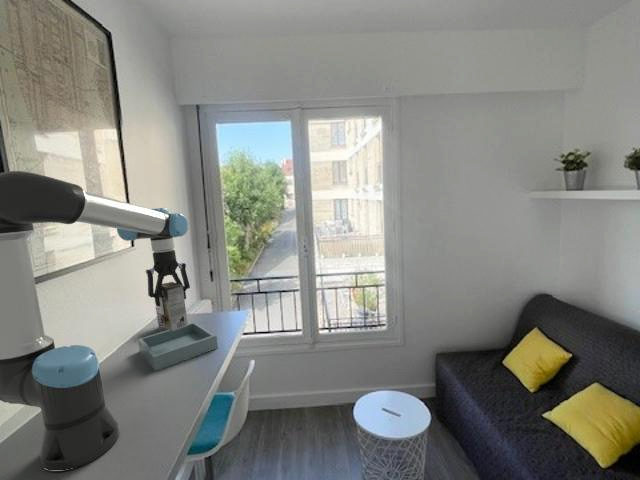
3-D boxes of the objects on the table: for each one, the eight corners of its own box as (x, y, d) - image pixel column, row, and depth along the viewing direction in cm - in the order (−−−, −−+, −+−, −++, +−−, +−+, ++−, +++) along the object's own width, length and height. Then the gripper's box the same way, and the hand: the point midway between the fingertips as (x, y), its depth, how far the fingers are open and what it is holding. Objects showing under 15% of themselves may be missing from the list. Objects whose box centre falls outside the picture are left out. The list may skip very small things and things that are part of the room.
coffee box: (161, 326, 131) (154, 285, 129) (178, 321, 135) (172, 281, 133) (171, 331, 125) (165, 288, 122) (188, 325, 129) (182, 283, 127)
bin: (155, 371, 116) (153, 357, 115) (139, 351, 133) (137, 339, 132) (217, 348, 130) (216, 335, 129) (196, 333, 147) (194, 321, 146)
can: (168, 334, 148) (164, 307, 146) (153, 330, 154) (149, 304, 152) (191, 324, 157) (187, 299, 156) (175, 321, 163) (172, 297, 162)
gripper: (187, 245, 135) (195, 301, 138) (131, 254, 123) (141, 316, 126) (194, 246, 129) (202, 305, 132) (136, 256, 117) (146, 321, 120)
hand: (172, 310), depth 129 cm, fingers closed on coffee box, 7 cm apart
